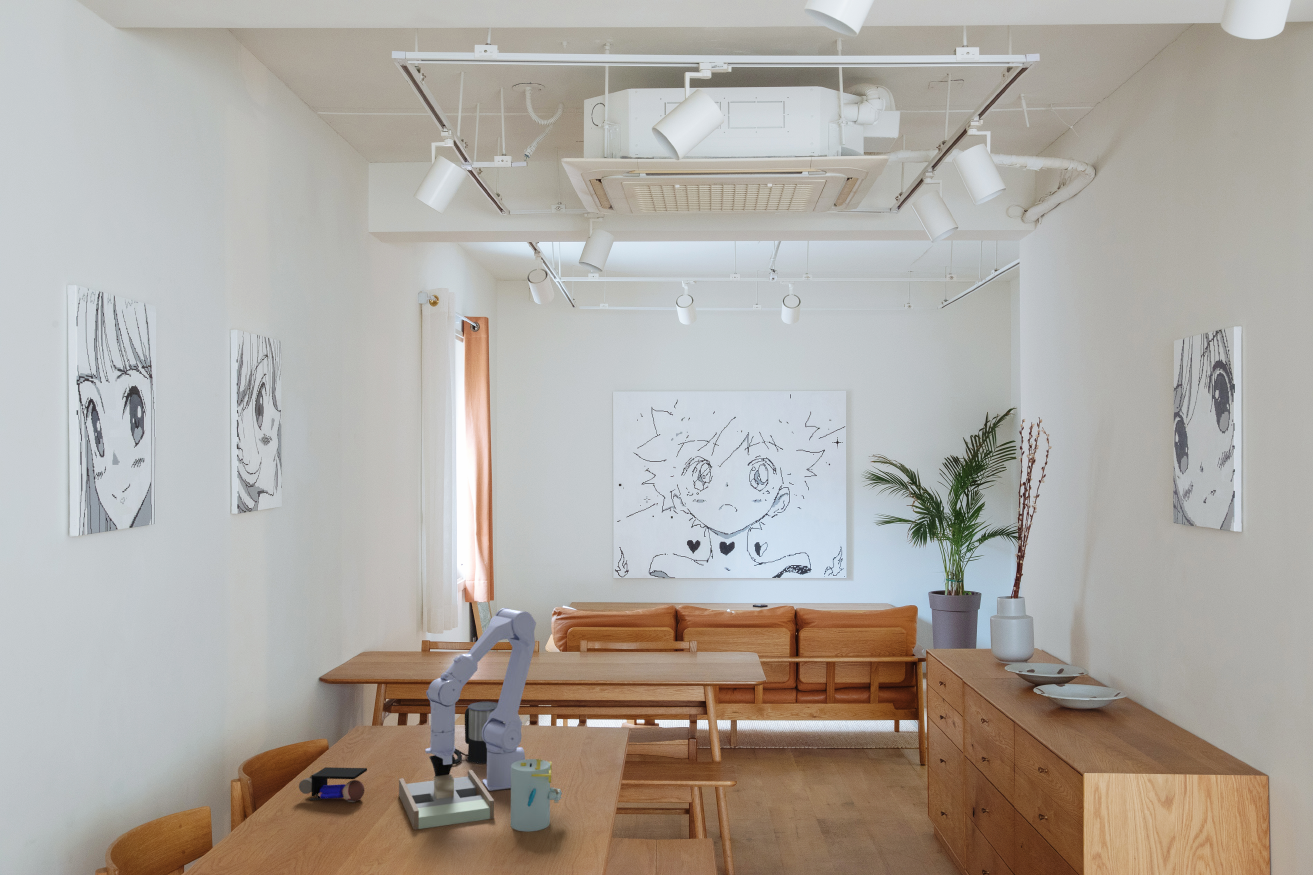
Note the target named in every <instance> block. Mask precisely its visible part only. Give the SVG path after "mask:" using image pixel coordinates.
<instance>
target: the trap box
mask: <svg viewBox="0 0 1313 875" xmlns="http://www.w3.org/2000/svg"><path fill="white" fill-rule="evenodd" d="M453 779H454V797H447V798H439V799H437V798H436V796H435V794H434V780H427V781H420V782H418V781H417V782H412V783H406V781H405V779H404V778H399V779H398V796H399V798H400V802H401V804H402V806H403V808H404V810H405V813H406V815H407V817H408V819H409V822H410V824H411V826H412V828H413V830H414V831H415V830H421V829H427V828H436V827H442V826H448V825H456V824H464V823H471V822H478V821H485V820H489V819H490V820H491V819H494V818H495V799H494V798H493V797H492V795H491V794H490V793H489V790H488V789H487V787H486V786H485V785H484V783H483V782H482V781H481V780H480V779H479V777H478V776H477V775H476V773H475V771H473V769H469V770H467V776H460V777H453Z"/></svg>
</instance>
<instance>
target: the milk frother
mask: <svg viewBox="0 0 1313 875" xmlns="http://www.w3.org/2000/svg"><path fill="white" fill-rule="evenodd" d="M497 706H498V702H494V701H479V702H473V703H470V704H469V705H468V706H467V708H466V709H465V711H464V741H465V743H466V744H467V745H468V748H467V754H466V753H465V752H462V751H461V750H459V749H458V748H455V752H454V754H453V755H456V756H457V758H455V762H454V764H453V765H457V764H459V763H461V761H462V759H463V756H466V757H467V758H466V760H467V761H468V762H469V763H471V764H478V765H479V764H482V765H484V764H487V748H486V743H485V742H484V741H483V739H482V729H483V727H484V725H485V724H486V722H487V720H488V718H489V714H490V713H491V712H493V711H494V710H495V709H496V708H497Z"/></svg>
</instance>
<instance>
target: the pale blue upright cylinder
mask: <svg viewBox="0 0 1313 875" xmlns="http://www.w3.org/2000/svg"><path fill="white" fill-rule="evenodd" d="M552 766H553V764H552V761H549V760H548V761H547V760H544V759H541V758H528V759H526V758H525V760H520V761H517V762H514V763H513V764H512V765H511V788H510V828H512V829H513V830H516V831H520V832H537V831H541V830H544V829H546V828H548V827H549V826H550V823H551V820H550V819H551V816H550V815H551V801H554V802H553V803H554V804H559V800H561V799H562V795H563V793H562V789H560V788H556V787H552V786H551V784H552V772H553V771H552V770H553V769H552Z"/></svg>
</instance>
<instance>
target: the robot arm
mask: <svg viewBox="0 0 1313 875" xmlns="http://www.w3.org/2000/svg"><path fill="white" fill-rule="evenodd" d="M536 626H537V622H536V620H535V619H534V617H533V615H532V614H531V613H530V612H529V611H525V610H524V611H523V610H516V609H510V608H508V607H502V608H500V609H499V610H498V611H496V613H495V615H493V616H492V618H490V621H489V624H488V626H487V627H486V628H485V630H484V632H483V633H482V634H481V635H480V637H479V638H478V639H477V641H476V642H475V643H474V644H473V645H472V646H471V648H470V649H469V651H468V652H467V653H465V654H464V653H463V654H459V656H455V657H454V659H453V662H452V664H451V665H450V666H449V667H448V668H447V669H446V670H445V671H444V672H442V673H441V674H440V676H439V677H438V678H436V679H434V680H432V682H431V683H430V684H429V685H428V688H427V690H426V692H425V694H426V697H427V699H428V700H429V703H430V739H429V740H430V744H429V745H430V747H428V748H425V750H424V752H425V754H432V755H430V756H429V757H428V758H429V760H430V762H431V764H432V768H433V771H434V772H433V773H434V776H442V775H451V770H452V768H453V766H454V765H455V764H454V762H455V760H456V758H455V754H454V752H455V749H456V746H455V738H456V737H455V736H456V735H455V734H456V731H455V730H456V728H455V726H456V725H455V723H456V702H458V701H459V699H460V697H461V693H462V690H463V687H465V685H466V684H467V683H468V682H469V681H470V679H471V678H472V677H473V676H474V674H475V673H476V672H477V671H478V669H479V668H478V665H479V664H478V663H479V662H481V660H482V658H484V657H485V656H486V654H488V653H489V652H490V650H492V648H493V647H494V646H496V644H498V643H499V641H503V640H508V642H509V643H510V645H511V647H512V648H511V653H510V656H509V661H508V663H507V668H506V671H505V675H504V678H503V679H504V680H503V684H502V686H501V691H500V693H499V699H498V702H497V703H498V706H497V708H496V709H495V710H494V711H493V712H491V713H490V714H489V718H488V720H487V722H486V724H485V725H484V727H483V729H482V739H483V741H484V742H485V743H486V748H487V763H486V778H484V779H482V781H481V783H482V784H483V786H484V787H485V788H486V790H487V791H488V792H489V791H491V792H492V791H498V790H500V791H501V790H506V789H511V765H512V764H513V763H514V762H517V761H520V760H525V759H526V754H525V750H524V748H523V747H522V746H520V745H521V742H522V726H523V721H522V719H521V718H520V714H519V710H520V706H521V701H522V699H523V698H522V697H523V695H524V693H523V692H524V690H525V686H526V682H527V679H528V678H527V677H528V673H529V671H530V666H531V662H532V658H533V654H534V651H535V646H536V640H535V639H536V638H535V629H536Z"/></svg>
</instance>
